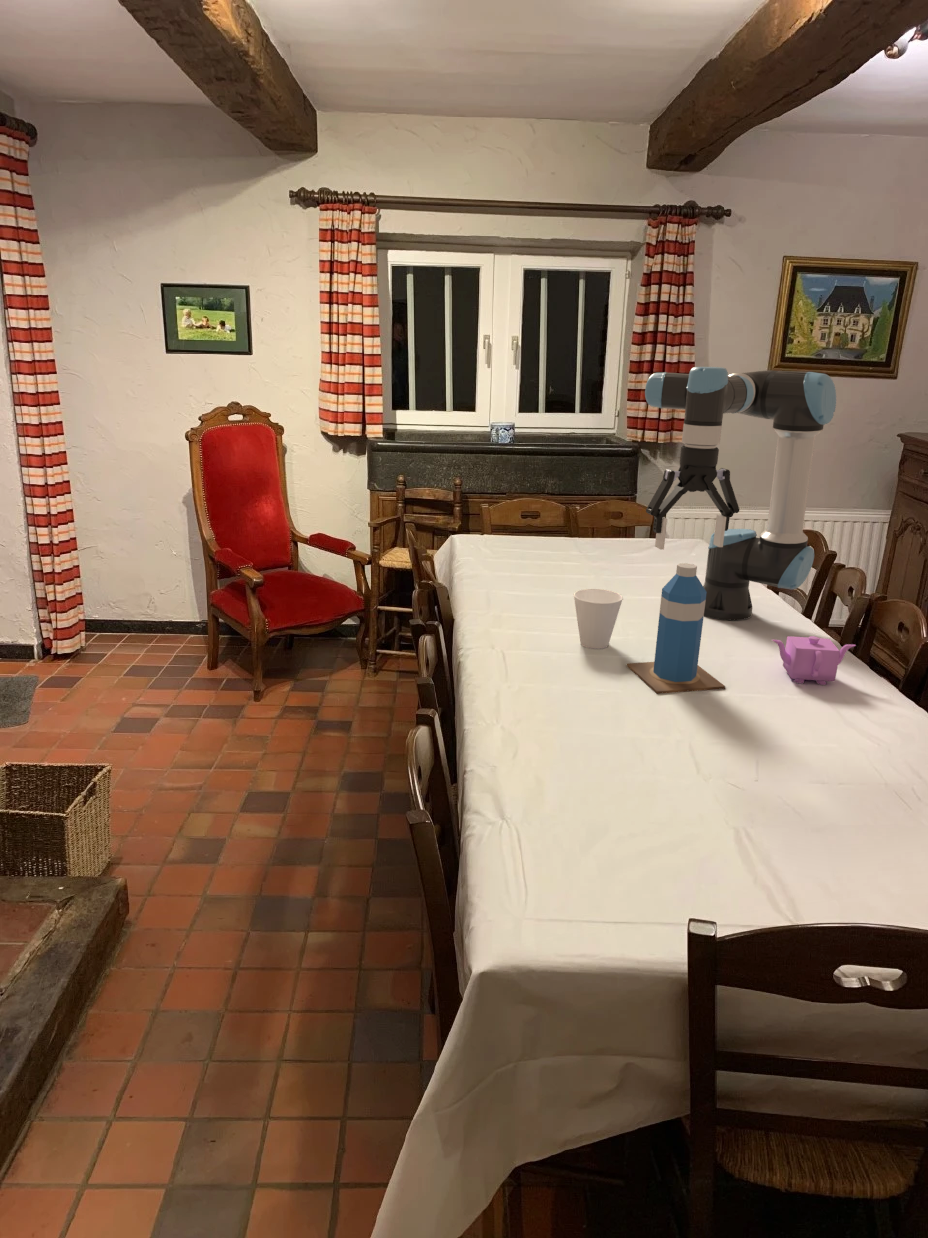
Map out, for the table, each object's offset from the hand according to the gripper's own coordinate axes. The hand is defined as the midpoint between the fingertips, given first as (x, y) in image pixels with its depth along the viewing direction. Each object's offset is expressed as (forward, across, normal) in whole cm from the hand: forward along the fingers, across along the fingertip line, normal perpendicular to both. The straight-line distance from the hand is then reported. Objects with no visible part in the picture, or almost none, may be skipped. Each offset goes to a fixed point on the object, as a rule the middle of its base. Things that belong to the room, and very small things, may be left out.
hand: (688, 546), depth 178 cm
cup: (+30, +10, -22) cm, 39 cm away
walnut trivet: (+30, 0, +1) cm, 30 cm away
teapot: (+30, -30, +6) cm, 42 cm away
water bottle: (+29, 0, +1) cm, 29 cm away
